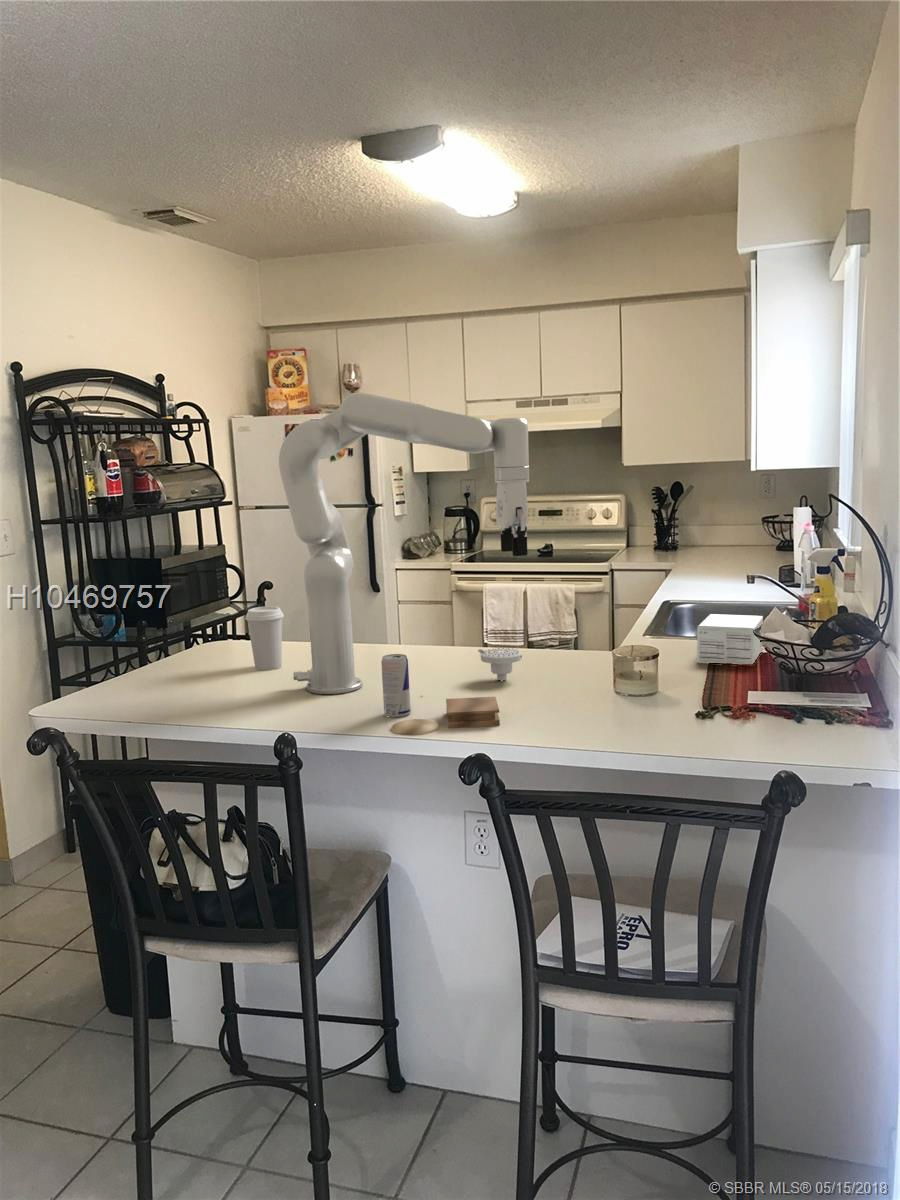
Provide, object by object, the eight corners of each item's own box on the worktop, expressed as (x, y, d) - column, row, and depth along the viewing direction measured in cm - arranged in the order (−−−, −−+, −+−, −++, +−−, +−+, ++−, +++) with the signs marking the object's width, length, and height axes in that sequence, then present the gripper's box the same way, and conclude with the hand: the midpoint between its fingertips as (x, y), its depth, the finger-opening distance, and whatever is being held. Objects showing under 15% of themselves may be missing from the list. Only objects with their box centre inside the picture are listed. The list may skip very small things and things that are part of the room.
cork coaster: (391, 738, 177) (391, 734, 177) (392, 724, 186) (392, 720, 186) (439, 735, 177) (438, 731, 177) (438, 721, 186) (438, 717, 186)
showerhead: (481, 644, 220) (524, 644, 218) (482, 674, 221) (524, 675, 219) (474, 653, 211) (518, 653, 209) (475, 685, 212) (519, 685, 210)
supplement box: (754, 667, 218) (754, 627, 217) (696, 664, 224) (696, 625, 222) (763, 651, 233) (764, 614, 232) (709, 649, 239) (709, 612, 237)
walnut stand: (447, 727, 181) (447, 712, 180) (446, 713, 191) (446, 698, 190) (499, 725, 181) (499, 710, 181) (495, 710, 191) (495, 696, 190)
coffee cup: (295, 665, 240) (291, 607, 237) (269, 673, 232) (264, 613, 229) (267, 661, 245) (263, 604, 242) (241, 669, 237) (236, 611, 234)
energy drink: (414, 711, 193) (411, 654, 191) (404, 718, 188) (401, 660, 186) (390, 709, 195) (387, 653, 193) (380, 717, 190) (376, 659, 188)
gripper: (485, 475, 213) (488, 550, 216) (505, 477, 196) (507, 558, 199) (517, 473, 215) (519, 548, 217) (540, 475, 198) (541, 556, 201)
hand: (513, 553), depth 208 cm, fingers open, 9 cm apart
